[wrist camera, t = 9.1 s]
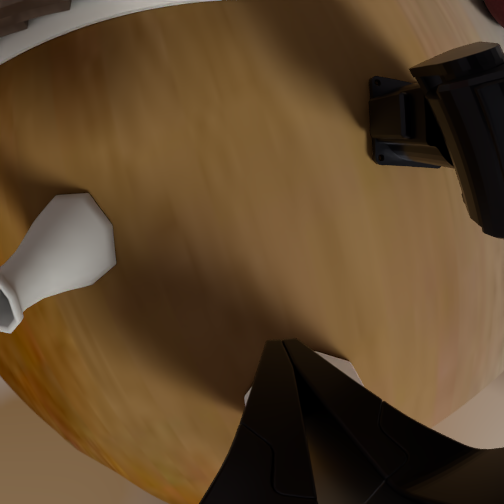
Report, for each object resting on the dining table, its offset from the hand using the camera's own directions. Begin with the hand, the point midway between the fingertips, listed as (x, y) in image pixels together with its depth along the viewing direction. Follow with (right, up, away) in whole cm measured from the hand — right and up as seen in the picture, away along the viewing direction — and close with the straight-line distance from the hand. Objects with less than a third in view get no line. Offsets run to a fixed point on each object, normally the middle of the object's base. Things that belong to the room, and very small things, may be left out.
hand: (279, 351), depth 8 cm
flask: (-14, +4, +11) cm, 18 cm away
